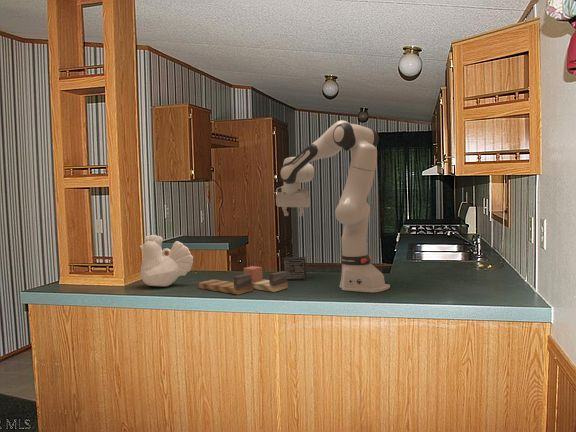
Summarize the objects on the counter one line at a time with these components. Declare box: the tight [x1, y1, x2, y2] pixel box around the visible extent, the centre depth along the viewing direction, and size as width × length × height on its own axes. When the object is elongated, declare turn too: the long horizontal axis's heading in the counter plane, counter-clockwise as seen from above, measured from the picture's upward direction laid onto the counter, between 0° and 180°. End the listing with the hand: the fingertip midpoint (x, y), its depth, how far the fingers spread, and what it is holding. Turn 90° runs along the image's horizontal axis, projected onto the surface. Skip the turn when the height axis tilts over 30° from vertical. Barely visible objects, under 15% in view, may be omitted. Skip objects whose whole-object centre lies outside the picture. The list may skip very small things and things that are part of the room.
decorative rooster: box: [139, 234, 194, 287], centre depth 266 cm, size 25×16×25 cm, turn 77°
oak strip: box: [198, 273, 254, 295], centre depth 253 cm, size 26×9×8 cm, turn 49°
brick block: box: [242, 265, 263, 282], centre depth 257 cm, size 6×6×6 cm
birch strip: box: [232, 270, 289, 293], centre depth 255 cm, size 26×9×8 cm, turn 49°
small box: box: [282, 256, 307, 281], centre depth 271 cm, size 11×6×10 cm, turn 84°
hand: (293, 216), depth 284 cm, fingers open, 8 cm apart
